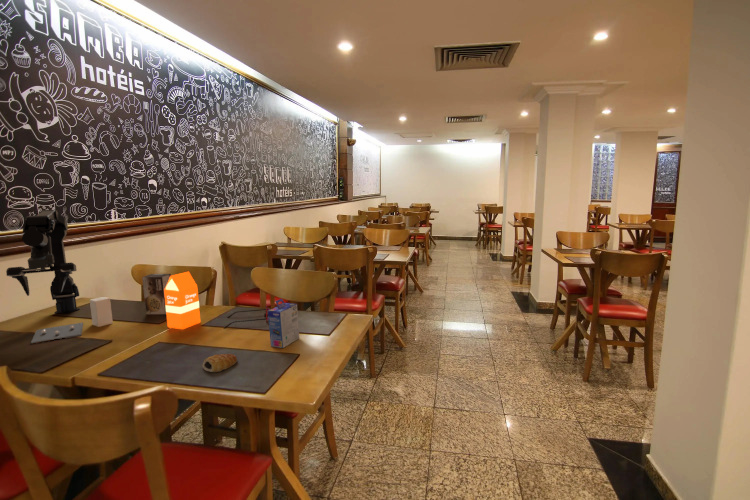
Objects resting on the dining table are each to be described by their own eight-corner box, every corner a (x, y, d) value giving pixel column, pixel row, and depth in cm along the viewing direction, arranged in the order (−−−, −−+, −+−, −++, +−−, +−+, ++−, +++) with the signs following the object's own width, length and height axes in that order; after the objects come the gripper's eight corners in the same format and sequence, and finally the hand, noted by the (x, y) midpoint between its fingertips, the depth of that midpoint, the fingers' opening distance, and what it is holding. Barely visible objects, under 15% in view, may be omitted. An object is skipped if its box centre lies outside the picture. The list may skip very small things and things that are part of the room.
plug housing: (92, 324, 159) (89, 299, 158) (106, 321, 163) (103, 296, 162) (98, 326, 157) (95, 301, 155) (112, 323, 161) (109, 298, 159)
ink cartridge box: (286, 336, 143) (284, 295, 141) (300, 338, 141) (298, 297, 139) (269, 346, 134) (266, 303, 132) (283, 348, 132) (281, 304, 130)
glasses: (269, 325, 156) (268, 312, 155) (223, 329, 152) (222, 316, 151) (269, 314, 169) (268, 303, 168) (227, 318, 165) (226, 306, 165)
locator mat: (37, 331, 153) (36, 329, 152) (83, 324, 160) (82, 322, 160) (30, 344, 139) (30, 342, 139) (81, 335, 147) (81, 334, 147)
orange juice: (167, 327, 155) (162, 275, 152) (185, 320, 163) (181, 270, 160) (182, 329, 152) (178, 276, 149) (201, 322, 160) (196, 271, 157)
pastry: (228, 358, 125) (227, 346, 125) (242, 363, 122) (242, 351, 121) (200, 369, 118) (199, 357, 117) (214, 375, 114) (213, 362, 113)
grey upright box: (175, 310, 177) (171, 273, 174) (166, 314, 170) (162, 276, 168) (155, 309, 178) (151, 273, 175) (145, 314, 171) (141, 276, 169)
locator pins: (42, 334, 148) (41, 330, 147) (74, 328, 153) (74, 325, 152) (40, 338, 143) (39, 334, 143) (73, 332, 148) (73, 328, 148)
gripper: (-1, 249, 135) (2, 296, 134) (69, 245, 144) (72, 289, 143) (10, 253, 145) (13, 297, 144) (74, 249, 153) (78, 290, 152)
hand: (44, 293), depth 145 cm, fingers open, 9 cm apart
